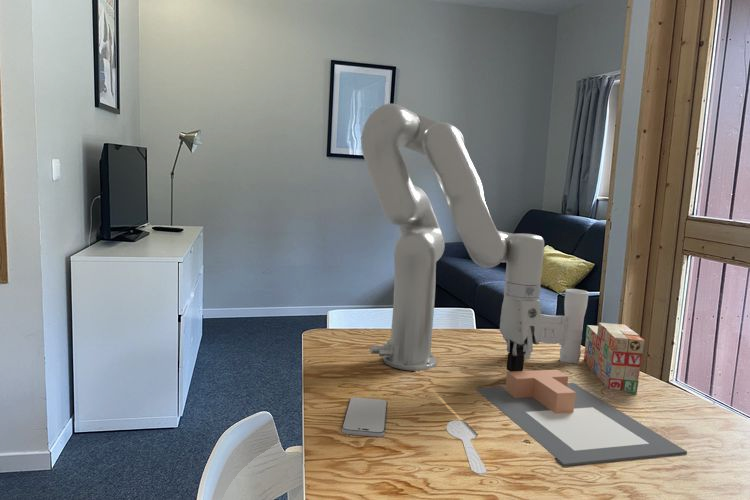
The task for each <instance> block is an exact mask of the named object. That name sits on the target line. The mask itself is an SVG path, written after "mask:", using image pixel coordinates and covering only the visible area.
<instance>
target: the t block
mask: <svg viewBox="0 0 750 500" xmlns="http://www.w3.org/2000/svg"><path fill="white" fill-rule="evenodd" d="M567 383H569V375H567V374H565V373H563V372H562V371H560V370H559V369H539V370H523V371H515V372H510V371H507V372H506V378H505V391H507V392H508V393H509V394H511V395H512V396H513V397H514V398H522V397H533V398H535V399H536V400H537V401H539V402H540V403H542V404H543V405H544V406H546V407H547V408H548V409H550V410H551V411H553V412H554V413H555V414H556V413H570V412H574V403H575V395H576V392H574V391H573V390H571V389H570V388H568V387H567Z"/></svg>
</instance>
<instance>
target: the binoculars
mask: <svg viewBox="0 0 750 500" xmlns="http://www.w3.org/2000/svg"><path fill="white" fill-rule="evenodd" d="M564 291H565V293H564V306H563V308H564V309H563V310H564V315H549V314H542V313H541V335H540V342H539V343H542V344H548V345H549V344H551V345H552V344H553V345H556V344H558V345H559V346H560V349H559V361H560V362H561V363H570V364H571V363H572V364H575V365H579V363H580V358H581V353H582V352H581V350H582V349H581V348H582V340H583V329H584V327H583V326H584V320H585V319H584V318H585V315H586V313H587V307H588V301H589V294H590V293H589V291H587V290H584V289H578V288H567V289H566V288H565V290H564ZM531 353H532V352H526V355H524V360H529V359H531V355H532V354H531Z"/></svg>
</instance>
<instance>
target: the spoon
mask: <svg viewBox="0 0 750 500" xmlns="http://www.w3.org/2000/svg"><path fill="white" fill-rule="evenodd" d="M446 432H447V434H448V435H450V436H452V437H453V438H455V439H458V440H460V441H462V445H463V447H464V450H465V451H464V452H465V455H466V457H467V460H468V463H469V467H470V470H471V472H473V473H474V474H478V475H484V474H486V473H487V472H488V469H487V468H486V466H485V464H484V462H483V460H482V459H481V457H480V456H479V454H478V451H477V450H476V449H475V446H474V445H473V443H472V440H474V439H476V438H477V437H478V435H479V434H478V433H477V431H475V430H474V429H473V427H471V426H470V425H469V424H468V422H466V421H463V420H457V419H455V420H451V421H449V422H448V423H447V424H446Z"/></svg>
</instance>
